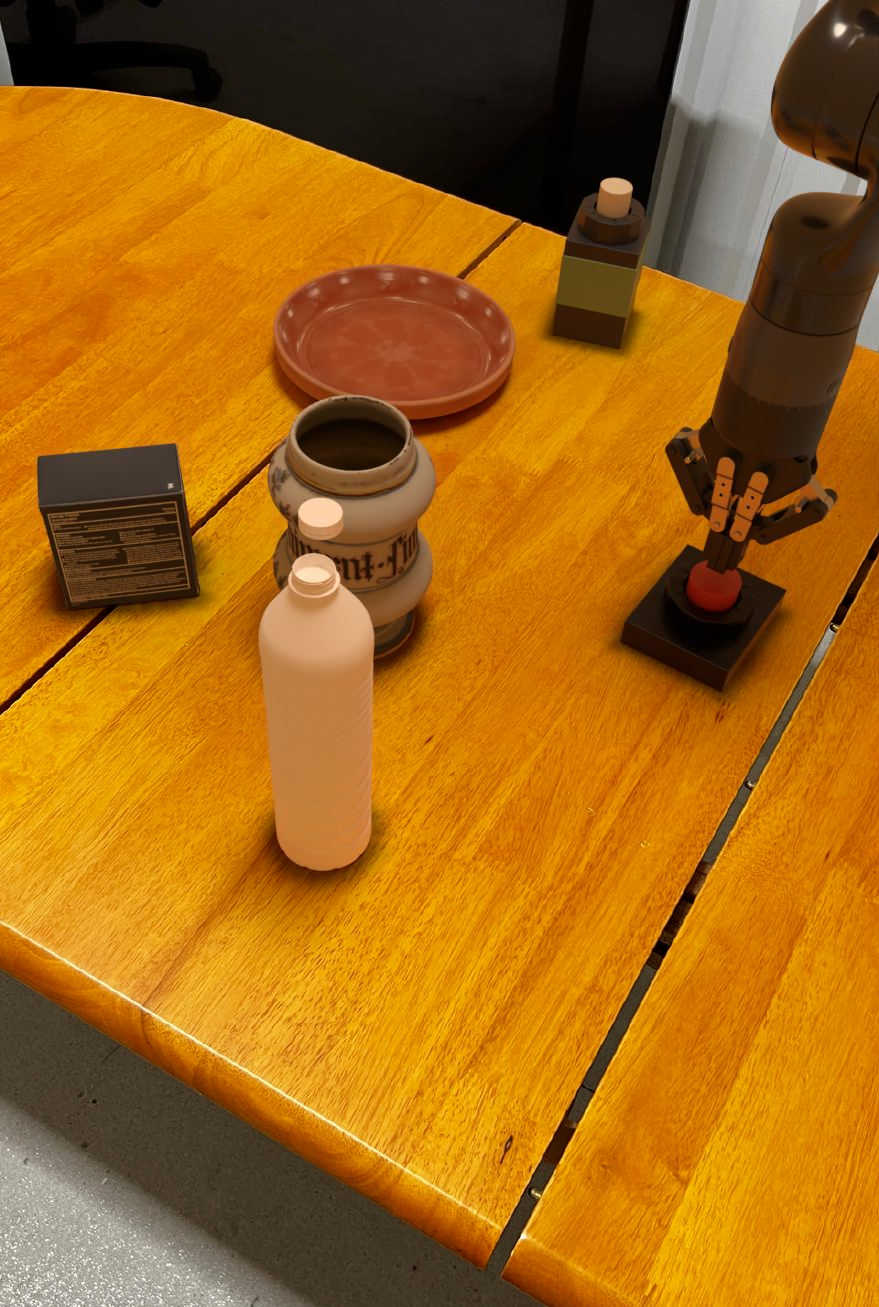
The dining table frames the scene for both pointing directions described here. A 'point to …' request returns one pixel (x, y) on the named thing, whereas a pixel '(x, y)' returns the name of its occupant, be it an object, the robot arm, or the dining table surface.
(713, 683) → the button housing
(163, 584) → the small box
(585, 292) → the pump bottle label
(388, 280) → the saucer
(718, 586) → the bell button
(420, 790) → the dining table surface
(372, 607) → the apothecary jar
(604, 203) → the tan cylindrical peg
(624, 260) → the pump bottle
